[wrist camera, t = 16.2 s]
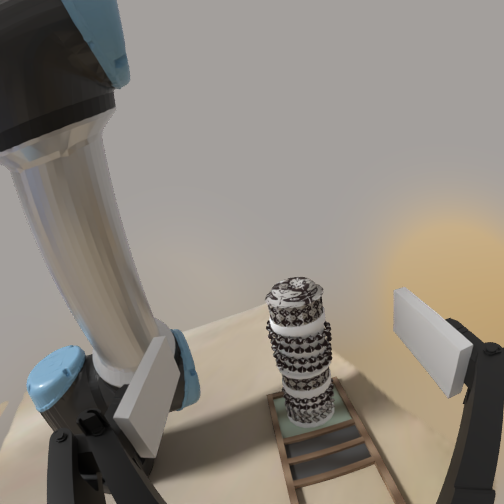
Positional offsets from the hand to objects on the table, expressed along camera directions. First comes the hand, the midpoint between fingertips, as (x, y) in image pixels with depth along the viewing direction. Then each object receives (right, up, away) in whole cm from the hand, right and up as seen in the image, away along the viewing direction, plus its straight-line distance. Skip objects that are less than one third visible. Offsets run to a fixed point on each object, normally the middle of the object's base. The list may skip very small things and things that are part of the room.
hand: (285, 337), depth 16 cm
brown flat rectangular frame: (+10, -26, +20) cm, 34 cm away
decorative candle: (+9, -24, +30) cm, 39 cm away
